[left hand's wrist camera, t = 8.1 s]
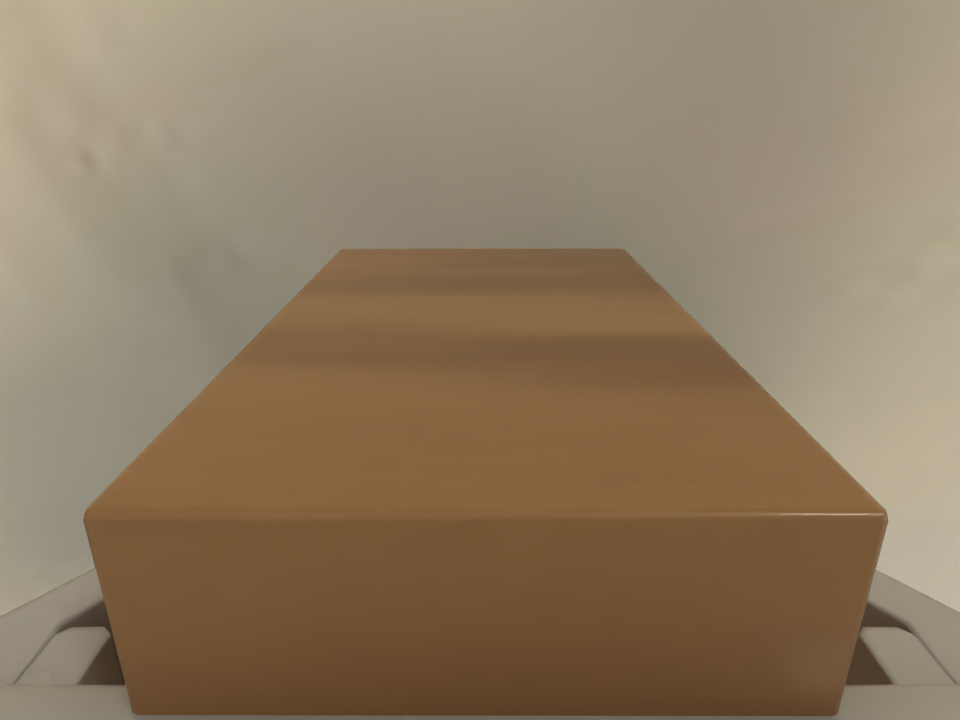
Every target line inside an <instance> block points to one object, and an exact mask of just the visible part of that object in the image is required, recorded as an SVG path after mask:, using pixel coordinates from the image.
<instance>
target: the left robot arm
mask: <svg viewBox="0 0 960 720" xmlns="http://www.w3.org/2000/svg"><path fill="white" fill-rule="evenodd" d="M0 720H960V612H958V611H956V610H954V609H952V608H950V607H948V606H946V605H944V604H942V603H940V602H938V601H936V600H934V599H932V598H930V597H928V596H926V595H924V594H922V593H920V592H918V591H917V590H915V589H913V588H911V587H909V586H907V585H905V584H903V583H901V582H899V581H897V580H895V579H893V578H891V577H889V576H887V575H885V574H883V573H881V572H879V571H877V570H875V573H874V577H873V580H872V584H871V588H870V592H869V596H868V600H867V603H866V607H865V611H864V615H863V619H862V623H861V626H860V630H859V634H858V638H857V642H856V645H855V649H854V653H853V657H852V661H851V665H850V668H849V672H848V676H847V680H846V684H845V687H844V691H843V695H842V699H841V703H840V707H839V710H838V714H836V715H834V716H372V715H137V714H134V713H133V712H132V708H131V704H130V700H129V696H128V692H127V688H126V684H125V680H124V677H123V673H122V669H121V665H120V661H119V657H118V653H117V649H116V645H115V641H114V637H113V634H112V630H111V626H110V622H109V618H108V614H107V610H106V606H105V602H104V598H103V594H102V591H101V587H100V583H99V579H98V575H97V571H96V568H94V569H92V570H90V571H88V572H86V573H84V574H83V575H81V576H79V577H77V578H75V579H73V580H71V581H69V582H67V583H65V584H63V585H61V586H59V587H57V588H55V589H53V590H51V591H49V592H48V593H46V594H44V595H42V596H40V597H38V598H36V599H34V600H32V601H30V602H28V603H26V604H24V605H22V606H20V607H18V608H16V609H14V610H12V611H11V612H9V613H7V614H5V615H3V616H1V617H0Z"/></svg>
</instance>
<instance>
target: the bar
mask: <svg viewBox="0 0 960 720" xmlns="http://www.w3.org/2000/svg"><path fill="white" fill-rule="evenodd" d="M887 523H888V517H887V513H886V510H885V509H884V508H883V507H882V506H881V505H880V504H879V503H878V502H877V501H876V500H875V499H874V498H873V497H872V496H871V495H870V494H869V493H868V492H867V491H866V490H865V489H864V488H863V487H862V486H861V485H860V484H859V483H858V482H857V481H856V480H855V479H854V478H853V477H852V476H851V475H850V474H849V473H848V472H847V471H846V470H845V469H844V468H843V467H842V466H841V465H840V464H839V463H838V462H837V461H836V460H835V459H834V458H833V457H832V456H831V455H830V454H829V453H828V452H827V451H826V450H825V449H824V448H823V447H822V446H821V445H820V444H819V443H818V442H817V441H816V440H815V439H814V438H813V437H812V436H811V435H810V434H809V433H808V432H807V431H806V430H805V429H804V428H803V427H802V426H801V425H800V424H799V423H798V422H797V421H796V420H795V419H794V418H793V417H792V416H791V415H790V414H789V413H788V412H787V411H786V410H785V409H784V408H783V407H782V406H781V405H780V404H779V403H778V402H777V401H776V400H775V399H774V398H773V397H772V396H771V395H770V394H769V393H768V392H767V391H766V390H765V389H764V388H763V387H762V386H761V385H760V384H759V383H758V382H757V381H756V380H755V379H754V378H753V377H752V376H751V375H750V374H749V373H748V372H747V371H746V370H745V369H744V368H743V367H742V366H741V365H740V364H739V363H738V362H737V361H736V360H735V359H734V358H733V357H732V356H731V355H730V354H729V353H728V352H727V351H726V350H725V349H724V348H723V347H722V346H721V345H720V344H719V343H718V342H717V341H716V340H715V339H714V338H713V337H712V336H711V335H710V334H709V333H707V332H706V331H705V330H704V329H703V328H702V327H701V326H700V325H699V324H698V323H697V322H696V321H695V320H694V319H693V318H692V317H691V316H690V315H689V314H688V313H687V312H686V311H685V310H684V309H683V308H682V307H681V306H680V305H679V304H678V303H677V302H676V301H675V300H674V299H673V298H672V297H671V296H670V295H669V294H668V293H667V292H666V291H665V290H664V289H663V288H662V287H661V286H660V285H659V284H658V283H657V282H656V281H655V280H654V279H653V278H652V277H651V276H650V275H649V274H648V273H647V272H646V271H645V270H644V269H643V268H642V267H641V266H640V265H639V264H638V263H637V262H636V261H635V260H634V259H633V258H632V257H631V256H630V255H629V254H628V253H627V252H626V251H625V250H624V249H342V250H341V251H340V252H339V253H338V254H337V255H336V256H335V257H334V258H333V259H332V260H331V261H330V262H329V263H328V264H327V265H326V266H325V267H324V268H323V269H322V270H321V271H320V272H319V273H318V274H317V275H316V276H315V277H314V278H313V279H312V280H311V281H310V282H309V283H308V284H307V285H306V286H305V287H304V288H303V289H302V290H301V291H300V292H299V293H298V294H297V295H296V296H295V297H294V298H293V299H292V300H291V301H290V302H289V303H288V304H287V305H286V306H285V308H284V309H283V310H282V311H281V312H280V313H279V314H278V315H277V316H276V317H275V318H274V319H273V320H272V321H271V322H270V323H269V324H268V325H267V326H266V327H265V328H264V329H263V330H262V331H261V332H260V333H259V334H258V335H257V336H256V337H255V338H254V339H253V340H252V341H251V342H250V343H249V344H248V345H247V346H246V347H245V348H244V349H243V350H242V351H241V352H240V353H239V354H238V355H237V356H236V357H235V358H234V359H233V360H232V361H231V362H230V364H229V365H228V366H227V367H226V368H225V369H224V370H223V371H222V372H221V373H220V374H219V375H218V376H217V377H216V378H215V379H214V380H213V381H212V382H211V383H210V384H209V385H208V386H207V387H206V388H205V389H204V390H203V391H202V392H201V393H200V394H199V395H198V396H197V397H196V398H195V399H194V400H193V401H192V402H191V403H190V404H189V405H188V406H187V407H186V408H185V409H184V410H183V411H182V412H181V413H180V414H179V415H178V416H177V417H176V418H175V419H174V421H173V422H172V423H171V424H170V425H169V426H168V427H167V428H166V429H165V430H164V431H163V432H162V433H161V434H160V435H159V436H158V437H157V438H156V439H155V440H154V441H153V442H152V443H151V444H150V445H149V446H148V447H147V448H146V449H145V450H144V451H143V452H142V453H141V454H140V455H139V456H138V457H137V458H136V459H135V460H134V461H133V462H132V463H131V464H130V465H129V466H128V467H127V468H126V469H125V470H124V471H123V472H122V473H121V474H120V475H119V477H118V478H117V479H116V480H115V481H114V482H113V483H112V484H111V485H110V486H109V487H108V488H107V489H106V490H105V491H104V492H103V493H102V494H101V495H100V496H99V497H98V498H97V499H96V500H95V501H94V502H93V503H92V504H91V505H90V506H89V507H88V508H87V509H86V511H85V514H84V524H85V528H86V532H87V536H88V540H89V544H90V548H91V551H92V555H93V559H94V563H95V567H96V571H97V575H98V579H99V583H100V587H101V591H102V594H103V598H104V602H105V606H106V610H107V614H108V618H109V622H110V626H111V630H112V634H113V637H114V641H115V645H116V649H117V653H118V657H119V661H120V665H121V669H122V673H123V677H124V680H125V684H126V688H127V692H128V696H129V700H130V704H131V708H132V712H133V713H134V714H137V715H372V716H834V715H836V714H838V710H839V707H840V703H841V699H842V695H843V691H844V687H845V684H846V680H847V676H848V672H849V668H850V665H851V661H852V657H853V653H854V649H855V645H856V642H857V638H858V634H859V630H860V626H861V623H862V619H863V615H864V611H865V607H866V603H867V600H868V596H869V592H870V588H871V584H872V580H873V577H874V573H875V569H876V565H877V561H878V558H879V554H880V550H881V546H882V542H883V538H884V535H885V531H886V527H887Z"/></svg>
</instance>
